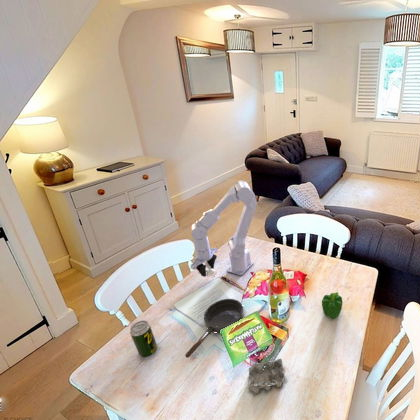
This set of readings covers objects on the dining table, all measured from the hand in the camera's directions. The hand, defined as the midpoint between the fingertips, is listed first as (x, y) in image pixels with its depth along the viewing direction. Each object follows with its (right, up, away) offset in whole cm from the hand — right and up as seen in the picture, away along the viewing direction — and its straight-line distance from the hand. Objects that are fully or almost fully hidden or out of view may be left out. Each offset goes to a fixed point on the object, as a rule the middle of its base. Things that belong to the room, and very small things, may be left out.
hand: (207, 272), depth 125 cm
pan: (+16, -13, -20) cm, 29 cm away
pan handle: (+11, -17, -32) cm, 38 cm away
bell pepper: (+57, -13, -16) cm, 61 cm away
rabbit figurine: (0, -1, +1) cm, 2 cm away
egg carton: (+36, -24, -40) cm, 59 cm away
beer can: (-5, -19, -33) cm, 39 cm away
